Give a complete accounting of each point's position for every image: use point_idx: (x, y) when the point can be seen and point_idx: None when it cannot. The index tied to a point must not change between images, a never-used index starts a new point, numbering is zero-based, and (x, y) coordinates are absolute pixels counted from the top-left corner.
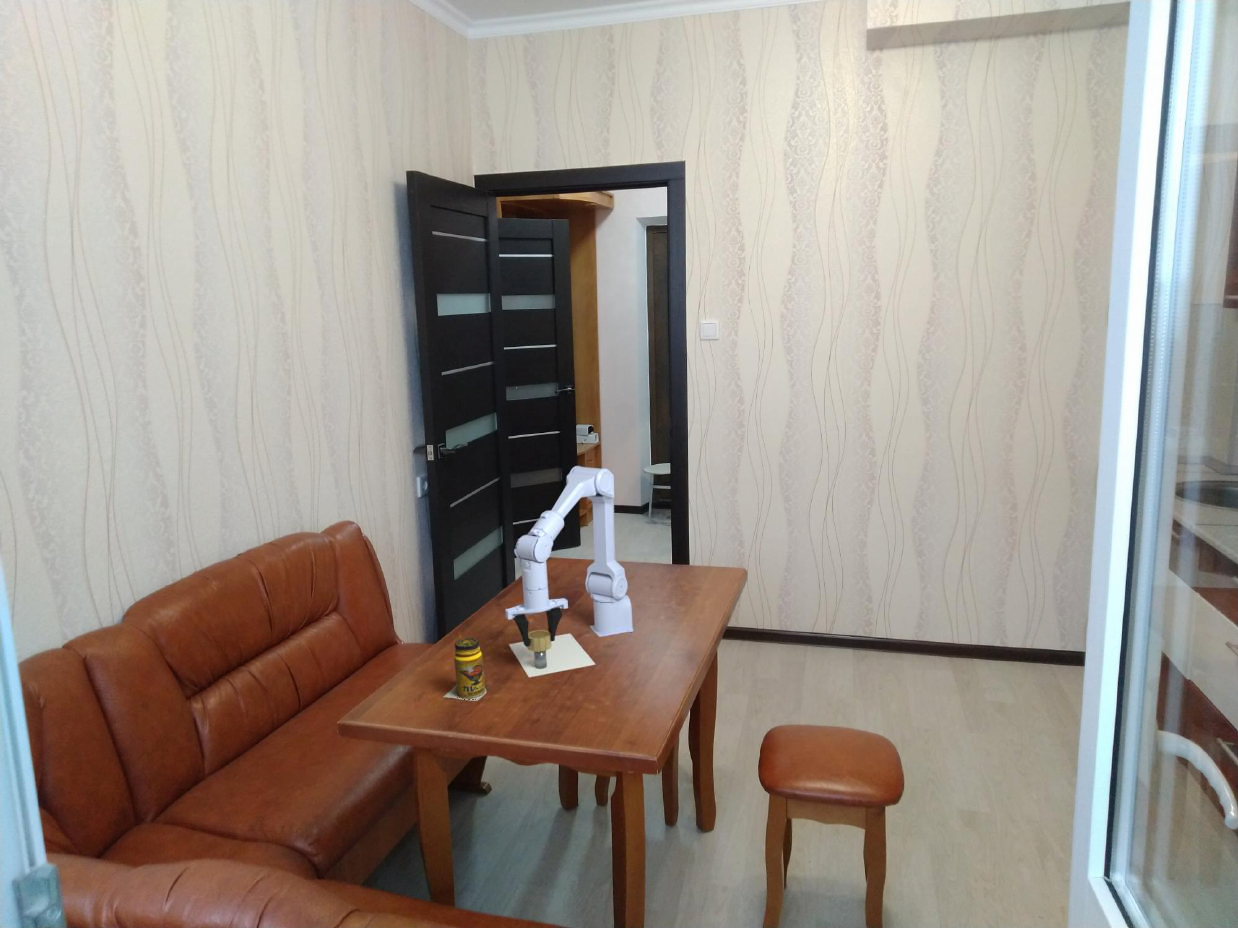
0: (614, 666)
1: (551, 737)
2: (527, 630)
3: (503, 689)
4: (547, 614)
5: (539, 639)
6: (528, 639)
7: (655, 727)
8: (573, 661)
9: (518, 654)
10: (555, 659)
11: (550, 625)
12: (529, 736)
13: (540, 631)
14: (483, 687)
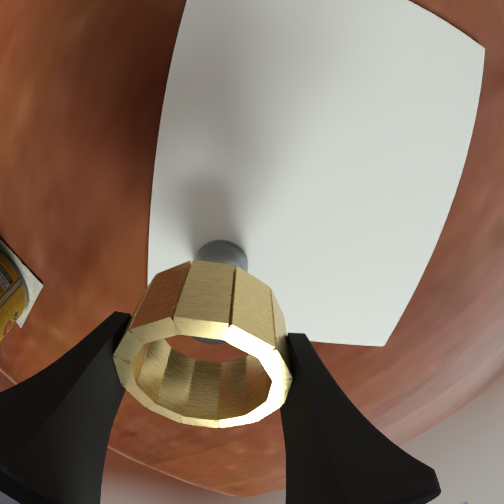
0: (408, 360)
1: (145, 459)
2: (102, 447)
3: (70, 317)
4: (323, 485)
5: (182, 419)
6: (121, 393)
7: (281, 485)
8: (351, 295)
9: (185, 73)
10: (309, 239)
11: (297, 437)
12: (115, 445)
13: (241, 344)
14: (19, 314)
